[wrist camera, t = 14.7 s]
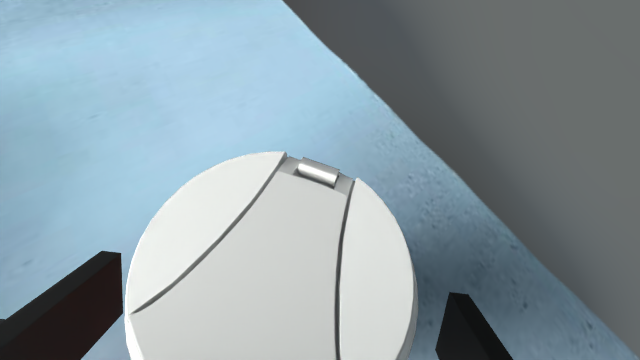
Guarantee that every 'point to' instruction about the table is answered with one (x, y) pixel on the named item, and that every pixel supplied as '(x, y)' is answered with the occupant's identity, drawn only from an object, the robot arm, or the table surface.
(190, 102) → the table surface
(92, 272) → the robot arm
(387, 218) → the coffee cup
